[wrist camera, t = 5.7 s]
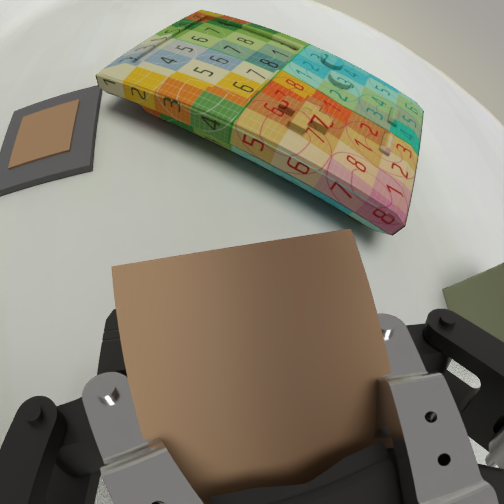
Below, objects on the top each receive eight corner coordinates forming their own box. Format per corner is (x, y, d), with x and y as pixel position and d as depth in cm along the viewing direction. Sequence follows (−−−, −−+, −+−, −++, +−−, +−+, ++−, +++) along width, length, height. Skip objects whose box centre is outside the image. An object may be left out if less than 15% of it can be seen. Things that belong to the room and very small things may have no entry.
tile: (-7, 198, 14) (-12, 192, 13) (16, 116, 16) (13, 109, 15) (92, 170, 16) (88, 163, 15) (102, 90, 18) (100, 82, 17)
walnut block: (187, 422, 12) (170, 515, 4) (165, 322, 14) (111, 266, 5) (289, 399, 13) (403, 442, 5) (266, 303, 15) (350, 228, 6)
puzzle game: (415, 218, 13) (93, 64, 13) (369, 251, 17) (106, 114, 18) (429, 103, 17) (201, 1, 18) (400, 139, 21) (198, 43, 22)
